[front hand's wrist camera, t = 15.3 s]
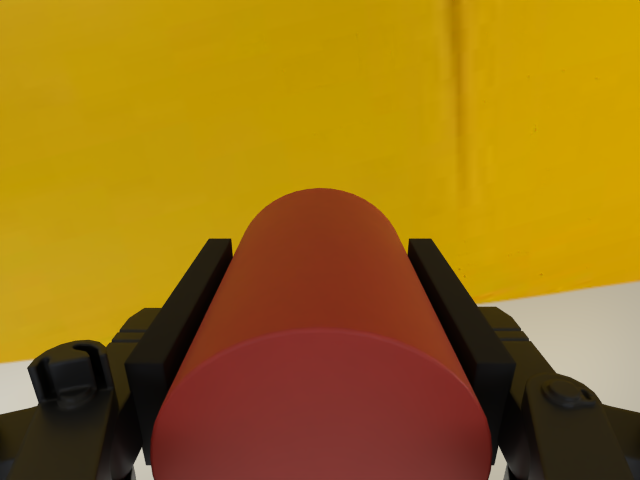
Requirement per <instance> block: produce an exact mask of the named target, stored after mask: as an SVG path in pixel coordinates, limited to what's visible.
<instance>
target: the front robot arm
mask: <svg viewBox="0 0 640 480" xmlns="http://www.w3.org/2000/svg"><path fill="white" fill-rule="evenodd" d="M232 258H233V254H232V243H231V239H209V240H208V241H207V242H206V244H205V245H204V247H203V248H202V250H201V251H200V253H199V254H198V256H197V257H196V259H195V260H194V261H193V263H192V264H191V266H190V267H189V269H188V270H187V272H186V273H185V275H184V276H183V278H182V279H181V281H180V282H179V283H178V285H177V286H176V288H175V289H174V291H173V292H172V294H171V295H170V297H169V298H168V300H167V301H166V303H165V304H164V305H163V307H162V308H144V309H142V310H141V311H139V312H138V313H136V314H135V315H133V316H132V317H130V318H129V319H128V320H127V321H126V323H125V324H124V325H123V326H122V328H121V329H120V332H119V333H117V334H116V335H115V337H114V338H113V339H112V342H111V343H109V344H108V345H107V347H105V346H104V345H102V344H101V343H100V342H97V341H92V340H80V341H73V342H69V343H65V344H61V345H59V346H56V347H54V348H52V349H49V350H47V351H45V352H44V353H43V354H41V355H40V356H38V357H37V358H35V359H34V360H33V362H32V363H31V364H30V365H29V366H28V368H27V369H28V372H29V375H30V378H31V381H32V384H33V387H34V390H35V393H36V396H37V399H38V402H39V403H38V406H35V407H32V408H28V409H24V410H19V411H14V412H10V413H5V414H1V415H0V480H136V476H135V471H134V466H133V464H134V462H135V460H136V458H137V456H138V454H139V452H140V450H141V448H142V449H143V453H144V458H145V462H146V465H151V460H150V447H151V436H152V431H153V427H154V423H155V420H156V418H157V415H158V413H159V411H160V408H161V406H162V404H163V402H164V400H165V398H166V395H167V393H168V391H169V389H170V387H171V385H172V383H173V381H174V379H175V377H176V375H177V373H178V371H179V368H180V366H181V364H182V362H183V360H184V358H185V356H186V354H187V352H188V350H189V348H190V346H191V344H192V341H193V339H194V337H195V335H196V333H197V331H198V329H199V327H200V325H201V323H202V321H203V319H204V316H205V314H206V312H207V310H208V308H209V306H210V304H211V302H212V300H213V298H214V296H215V294H216V292H217V289H218V287H219V285H220V283H221V281H222V279H223V277H224V275H225V273H226V271H227V269H228V267H229V264H230V262H231V260H232ZM408 258H409V260H410V262H411V264H412V266H413V268H414V270H415V272H416V274H417V276H418V278H419V280H420V282H421V284H422V286H423V288H424V290H425V293H426V295H427V297H428V299H429V301H430V303H431V305H432V307H433V309H434V311H435V313H436V315H437V317H438V319H439V321H440V323H441V325H442V327H443V329H444V332H445V334H446V336H447V338H448V340H449V342H450V344H451V346H452V348H453V350H454V352H455V354H456V356H457V358H458V360H459V362H460V364H461V366H462V368H463V370H464V373H465V375H466V377H467V379H468V381H469V383H470V385H471V387H472V389H473V391H474V393H475V395H476V397H477V399H478V401H479V403H480V405H481V407H482V410H483V412H484V414H485V416H486V418H487V422H488V425H489V429H490V433H491V440H492V463H491V465H494V463H495V459H496V454H497V450H498V445H499V447H500V449H501V451H502V453H503V455H504V457H505V459H506V462H507V466H506V471H505V475H504V479H503V480H640V413H638V412H634V411H629V410H625V409H620V408H616V407H611V406H607V405H604V404H602V403H601V401H600V400H599V398H598V397H597V396H596V394H595V393H594V392H593V391H592V390H590V389H589V388H588V387H587V386H585V385H584V384H582V383H580V382H578V381H576V380H574V379H572V378H570V377H567V376H564V375H560V374H557V373H556V372H555V371H554V370H553V369H552V367H551V366H550V365H549V364H548V362H547V361H546V360H545V358H544V357H543V356H542V355H541V353H540V352H539V351H538V350H537V348H536V347H535V346H534V345H533V343H532V342H531V341H529V338H528V337H527V336H526V334H525V333H524V332H523V331H521V328H520V327H519V326H518V324H517V323H516V322H515V321H514V319H513V318H512V317H511V316H509V315H508V314H506V313H505V312H503V311H502V310H500V309H499V308H497V307H477V305H476V304H475V302H474V301H473V299H472V298H471V296H470V295H469V293H468V292H467V290H466V289H465V287H464V286H463V285H462V283H461V282H460V280H459V279H458V277H457V276H456V274H455V273H454V271H453V270H452V268H451V267H450V266H449V264H448V263H447V261H446V260H445V258H444V257H443V255H442V254H441V252H440V251H439V249H438V248H437V246H436V245H435V244H434V242H433V241H432V239H409V245H408Z"/></svg>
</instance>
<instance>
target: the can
mask: <svg viewBox="0 0 640 480" xmlns="http://www.w3.org/2000/svg"><path fill="white" fill-rule="evenodd" d="M150 460H151V467H152V474H153V477H154V480H488V478H489V475H490V471H491V463H492V440H491V433H490V429H489V425H488V422H487V418H486V416H485V414H484V412H483V410H482V407H481V405H480V403H479V401H478V399H477V397H476V395H475V393H474V391H473V389H472V387H471V385H470V383H469V381H468V379H467V377H466V375H465V373H464V370H463V368H462V366H461V364H460V362H459V360H458V358H457V356H456V354H455V352H454V350H453V348H452V346H451V344H450V342H449V340H448V338H447V336H446V334H445V332H444V329H443V327H442V325H441V323H440V321H439V319H438V317H437V315H436V313H435V311H434V309H433V307H432V305H431V303H430V301H429V299H428V297H427V295H426V293H425V290H424V288H423V286H422V284H421V282H420V280H419V278H418V276H417V274H416V272H415V270H414V268H413V266H412V264H411V262H410V260H409V258H408V256H407V254H406V252H405V249H404V247H403V245H402V243H401V241H400V239H399V237H398V235H397V233H396V231H395V229H394V227H393V226H392V224H391V223H390V221H389V220H388V219H387V218H386V217H385V216H384V214H383V213H382V212H381V211H380V210H378V209H377V208H376V207H375V206H374V205H372V204H371V203H369V202H368V201H366V200H364V199H363V198H360V197H358V196H356V195H354V194H351V193H348V192H345V191H341V190H335V189H326V188H315V189H306V190H301V191H296V192H293V193H290V194H288V195H285V196H283V197H281V198H279V199H277V200H275V201H274V202H272V203H271V204H269V205H268V206H266V207H265V208H264V209H263V210H262V211H261V212H260V213H259V214H257V216H256V217H255V218H254V219H253V221H252V222H251V223H250V225H249V226H248V228H247V230H246V231H245V233H244V235H243V237H242V240H241V242H240V244H239V246H238V248H237V250H236V252H235V254H234V256H233V258H232V260H231V262H230V264H229V267H228V269H227V271H226V273H225V275H224V277H223V279H222V281H221V283H220V285H219V287H218V289H217V292H216V294H215V296H214V298H213V300H212V302H211V304H210V306H209V308H208V310H207V312H206V314H205V316H204V319H203V321H202V323H201V325H200V327H199V329H198V331H197V333H196V335H195V337H194V339H193V341H192V344H191V346H190V348H189V350H188V352H187V354H186V356H185V358H184V360H183V362H182V364H181V366H180V368H179V371H178V373H177V375H176V377H175V379H174V381H173V383H172V385H171V387H170V389H169V391H168V393H167V395H166V398H165V400H164V402H163V404H162V406H161V408H160V411H159V413H158V415H157V418H156V420H155V423H154V427H153V431H152V436H151V447H150Z"/></svg>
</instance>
